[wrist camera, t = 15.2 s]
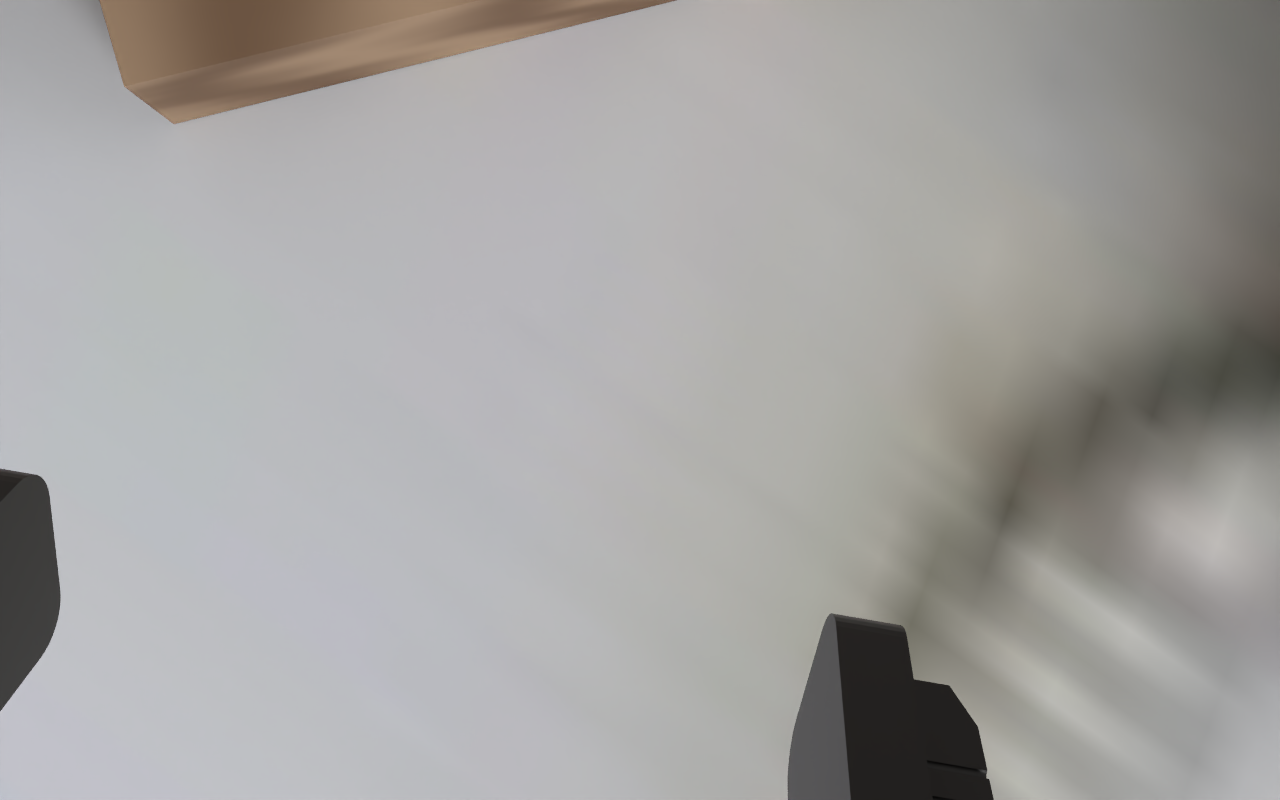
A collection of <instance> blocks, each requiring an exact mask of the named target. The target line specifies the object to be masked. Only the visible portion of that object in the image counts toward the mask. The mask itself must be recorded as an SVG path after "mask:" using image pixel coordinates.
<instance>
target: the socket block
mask: <svg viewBox="0 0 1280 800" xmlns="http://www.w3.org/2000/svg"><path fill="white" fill-rule="evenodd" d="M671 1H675V0H100V4H101V7H102V11H103V14H104V18H105V21H106V25H107V28H108V32H109V35H110V39H111V42H112V46H113V49H114V53H115V56H116V59H117V63H118V66H119V70H120V73H121V77H122V80H123V84H124V87H126V88H127V89H128V90H130V91H131V92H132V93H134V94H135V95H136V96H137V97H139V98H140V99H141V100H143V101H144V102H145V103H147V104H148V105H149V106H151V107H152V108H153V109H155V110H156V111H157V112H159V113H160V114H161V115H162V116H164V117H165V118H166V119H168V120H169V121H170V122H172V123H173V124H176V123H180V122H184V121H188V120H192V119H196V118H200V117H204V116H208V115H212V114H216V113H221V112H225V111H229V110H233V109H237V108H241V107H245V106H249V105H253V104H257V103H261V102H265V101H269V100H273V99H277V98H281V97H285V96H290V95H294V94H298V93H302V92H306V91H310V90H314V89H318V88H322V87H326V86H330V85H334V84H338V83H342V82H346V81H350V80H354V79H359V78H363V77H367V76H371V75H375V74H379V73H383V72H387V71H391V70H395V69H399V68H403V67H407V66H411V65H415V64H419V63H423V62H428V61H432V60H436V59H440V58H444V57H448V56H452V55H456V54H460V53H464V52H468V51H472V50H476V49H480V48H484V47H488V46H492V45H497V44H501V43H505V42H509V41H513V40H517V39H521V38H525V37H529V36H533V35H537V34H541V33H545V32H549V31H553V30H557V29H561V28H566V27H570V26H574V25H578V24H582V23H586V22H590V21H594V20H598V19H602V18H606V17H610V16H614V15H618V14H622V13H626V12H630V11H635V10H639V9H643V8H647V7H651V6H655V5H659V4H663V3H667V2H671Z"/></svg>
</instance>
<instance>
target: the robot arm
mask: <svg viewBox="0 0 1280 800" xmlns="http://www.w3.org/2000/svg"><path fill="white" fill-rule="evenodd" d="M59 609H60V585H59V576H58V567H57V558H56V549H55V540H54V532H53V523H52V514H51V505H50V496H49V491H48V488H47V485H46V483H45V481H44V480H43V479H42V478H41V477H40V476H38V475H34V474H28V473H22V472H16V471H11V470H5V469H0V711H1V710H2V708H3V707H4V706H5V704H6V703H7V702H8V700H9V699H10V698H11V696H12V695H13V694H14V692H15V691H16V690H17V688H18V687H19V686H20V684H21V683H22V682H23V680H24V679H25V678H26V676H27V675H28V674H29V672H30V671H31V670H32V668H33V667H34V666H35V664H36V663H37V662H38V660H39V659H40V658H41V656H42V655H43V653H44V652H45V650H46V648H47V646H48V645H49V642H50V640H51V638H52V636H53V633H54V630H55V627H56V623H57V620H58V615H59ZM986 774H987V767H986V762H985V758H984V753H983V748H982V744H981V739H980V734H979V730H978V726H977V725H976V724H975V722H974V721H973V719H972V718H971V716H970V715H969V713H968V712H967V711H966V709H965V708H964V706H963V705H962V703H961V702H960V701H959V699H958V698H957V696H956V695H955V693H954V692H953V690H952V689H951V688H950V686H949V685H943V684H937V683H931V682H926V681H920V680H914V679H913V672H912V666H911V660H910V654H909V647H908V641H907V636H906V632H905V629H904V628H903V626H901V625H896V624H890V623H884V622H878V621H872V620H867V619H861V618H855V617H849V616H843V615H837V614H832V613H831V614H830V615H829V616H828V617H827V619H826V621H825V624H824V626H823V630H822V633H821V636H820V640H819V643H818V647H817V650H816V654H815V657H814V660H813V664H812V667H811V671H810V674H809V678H808V681H807V685H806V688H805V691H804V695H803V698H802V702H801V705H800V709H799V712H798V716H797V719H796V723H795V727H794V731H793V737H792V742H791V749H790V756H789V767H788V800H994V799H993V795H992V790H991V785H990V781H989V779H986Z"/></svg>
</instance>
